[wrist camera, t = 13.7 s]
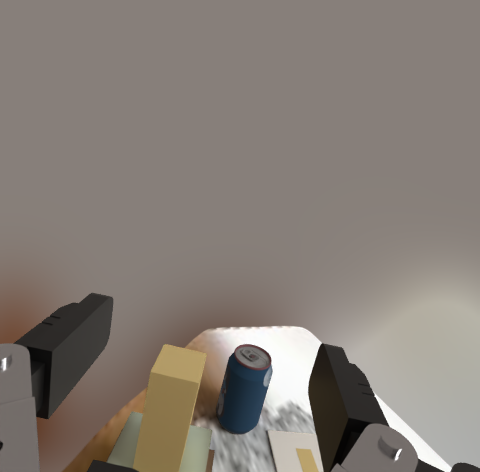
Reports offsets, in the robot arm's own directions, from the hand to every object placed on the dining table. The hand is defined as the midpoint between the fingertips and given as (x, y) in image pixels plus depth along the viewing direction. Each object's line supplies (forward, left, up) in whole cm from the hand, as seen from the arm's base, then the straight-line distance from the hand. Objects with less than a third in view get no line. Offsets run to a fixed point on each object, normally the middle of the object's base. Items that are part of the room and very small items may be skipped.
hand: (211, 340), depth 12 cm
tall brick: (+3, -16, -26) cm, 30 cm away
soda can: (-6, -32, -34) cm, 47 cm away
